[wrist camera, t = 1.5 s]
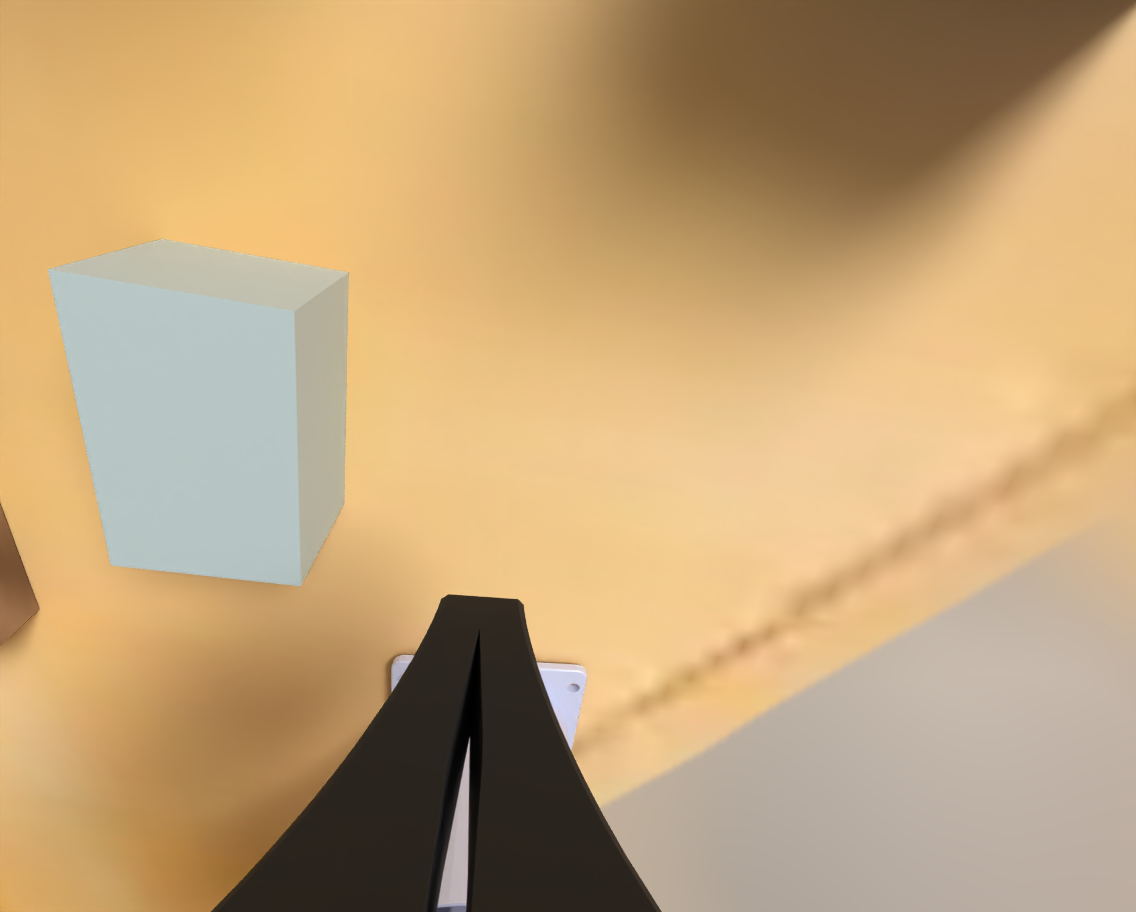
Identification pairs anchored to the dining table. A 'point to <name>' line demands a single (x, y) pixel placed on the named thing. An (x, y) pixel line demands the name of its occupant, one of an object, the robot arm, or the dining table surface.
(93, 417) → the block
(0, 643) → the board
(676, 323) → the dining table surface
